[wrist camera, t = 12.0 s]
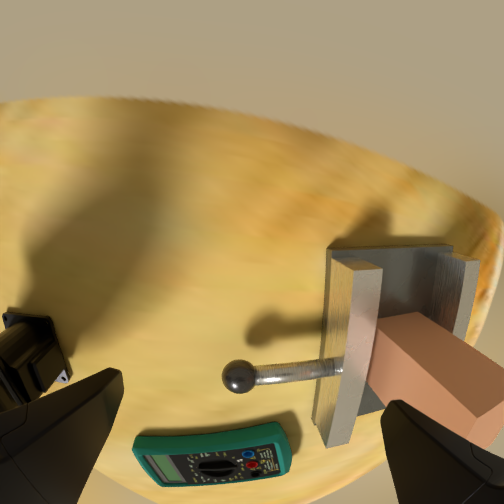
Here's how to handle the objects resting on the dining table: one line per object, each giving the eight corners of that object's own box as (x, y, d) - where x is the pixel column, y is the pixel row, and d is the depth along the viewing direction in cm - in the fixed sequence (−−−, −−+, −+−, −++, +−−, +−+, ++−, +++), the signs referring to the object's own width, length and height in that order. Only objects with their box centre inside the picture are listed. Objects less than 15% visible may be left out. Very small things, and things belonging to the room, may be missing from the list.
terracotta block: (360, 373, 21) (439, 478, 9) (368, 320, 20) (477, 418, 8) (406, 361, 21) (491, 444, 9) (417, 311, 20) (525, 383, 8)
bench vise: (228, 427, 22) (230, 463, 17) (215, 252, 19) (212, 268, 14) (414, 392, 24) (436, 415, 19) (445, 244, 21) (481, 253, 16)
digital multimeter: (290, 457, 24) (295, 476, 21) (159, 471, 23) (156, 490, 20) (283, 415, 23) (289, 436, 20) (133, 432, 22) (126, 452, 19)
